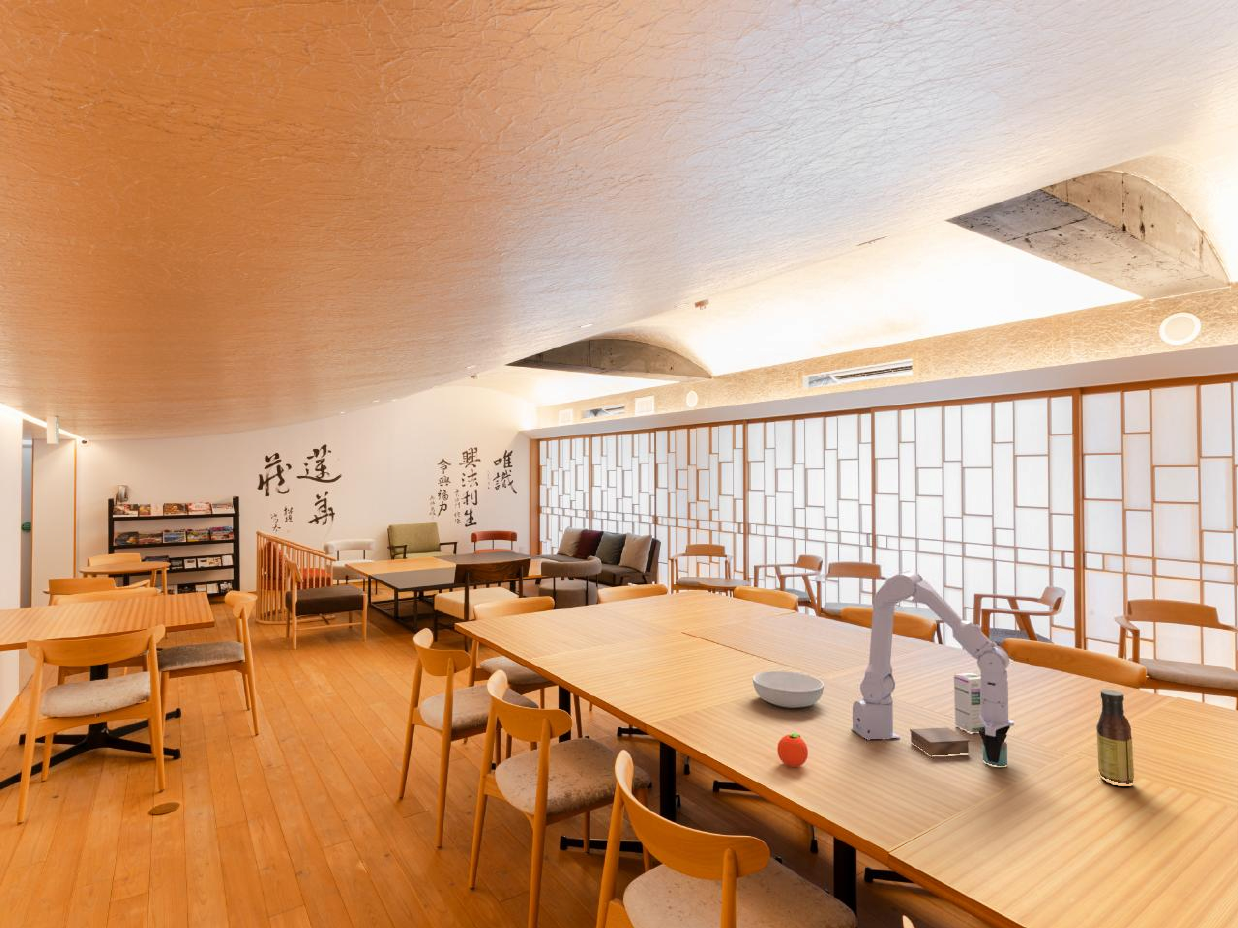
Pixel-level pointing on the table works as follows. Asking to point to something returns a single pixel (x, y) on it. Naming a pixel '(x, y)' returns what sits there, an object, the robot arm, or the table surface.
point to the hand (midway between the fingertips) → (994, 757)
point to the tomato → (792, 750)
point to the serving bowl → (788, 688)
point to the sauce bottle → (1114, 740)
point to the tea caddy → (1002, 755)
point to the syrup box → (967, 701)
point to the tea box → (939, 741)
